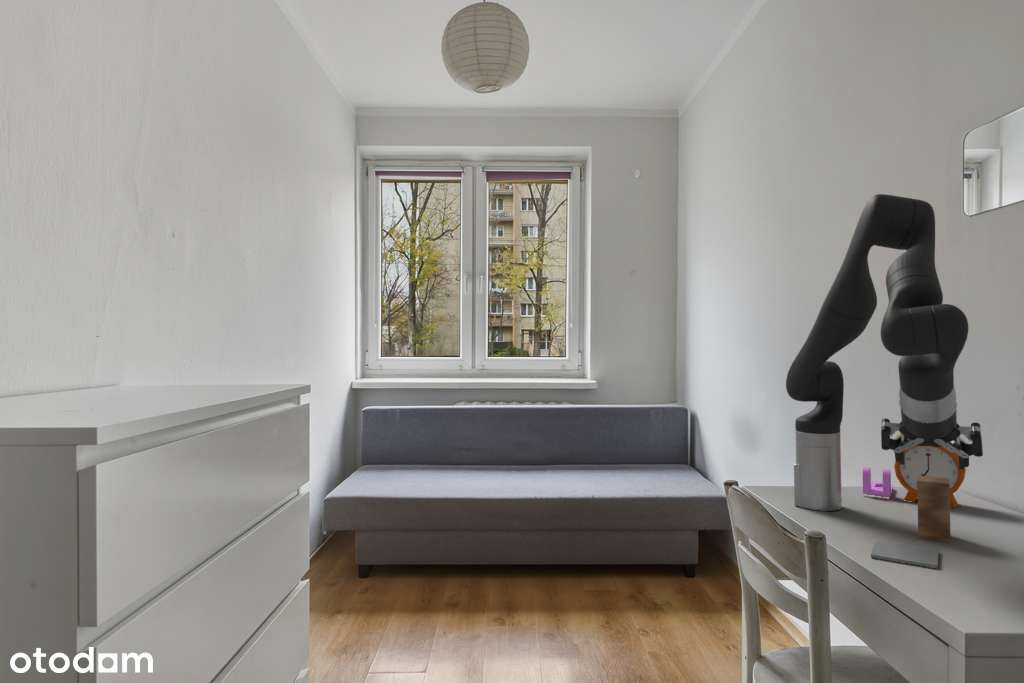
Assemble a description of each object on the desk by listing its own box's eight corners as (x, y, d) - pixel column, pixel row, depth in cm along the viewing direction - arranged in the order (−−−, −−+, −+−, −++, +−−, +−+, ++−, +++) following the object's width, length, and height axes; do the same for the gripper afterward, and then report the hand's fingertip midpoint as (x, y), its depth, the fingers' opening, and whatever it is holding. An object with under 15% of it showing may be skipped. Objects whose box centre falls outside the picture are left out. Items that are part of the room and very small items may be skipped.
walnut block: (918, 538, 116) (917, 480, 116) (919, 531, 120) (918, 475, 120) (950, 542, 113) (949, 483, 113) (950, 535, 117) (949, 478, 117)
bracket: (889, 500, 144) (889, 470, 144) (863, 497, 147) (862, 468, 147) (893, 489, 155) (893, 461, 155) (868, 486, 158) (868, 459, 158)
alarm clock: (894, 500, 143) (892, 416, 143) (898, 495, 147) (897, 413, 148) (964, 510, 134) (962, 420, 134) (966, 504, 139) (964, 417, 139)
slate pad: (870, 557, 106) (870, 554, 106) (876, 543, 113) (876, 539, 113) (937, 569, 100) (937, 565, 100) (938, 552, 108) (938, 549, 108)
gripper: (982, 387, 96) (981, 449, 105) (877, 385, 104) (885, 442, 113) (984, 424, 92) (983, 485, 101) (875, 419, 100) (883, 476, 109)
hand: (931, 463), depth 107 cm, fingers open, 8 cm apart
